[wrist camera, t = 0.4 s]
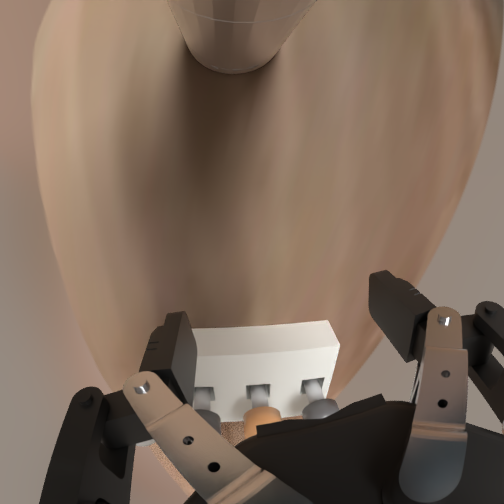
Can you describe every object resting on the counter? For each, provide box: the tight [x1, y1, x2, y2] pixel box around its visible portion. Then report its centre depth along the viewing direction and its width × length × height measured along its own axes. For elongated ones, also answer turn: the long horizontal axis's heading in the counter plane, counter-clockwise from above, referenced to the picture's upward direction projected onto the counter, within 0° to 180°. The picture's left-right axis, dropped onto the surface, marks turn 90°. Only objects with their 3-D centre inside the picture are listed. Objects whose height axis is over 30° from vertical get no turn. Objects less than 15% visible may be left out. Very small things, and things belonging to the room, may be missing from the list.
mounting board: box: [192, 320, 340, 422], centre depth 36 cm, size 14×19×5 cm
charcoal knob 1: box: [194, 387, 221, 435], centre depth 30 cm, size 4×4×8 cm
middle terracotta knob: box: [243, 384, 282, 439], centre depth 31 cm, size 4×4×8 cm
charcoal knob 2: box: [302, 378, 339, 419], centre depth 32 cm, size 4×4×8 cm
